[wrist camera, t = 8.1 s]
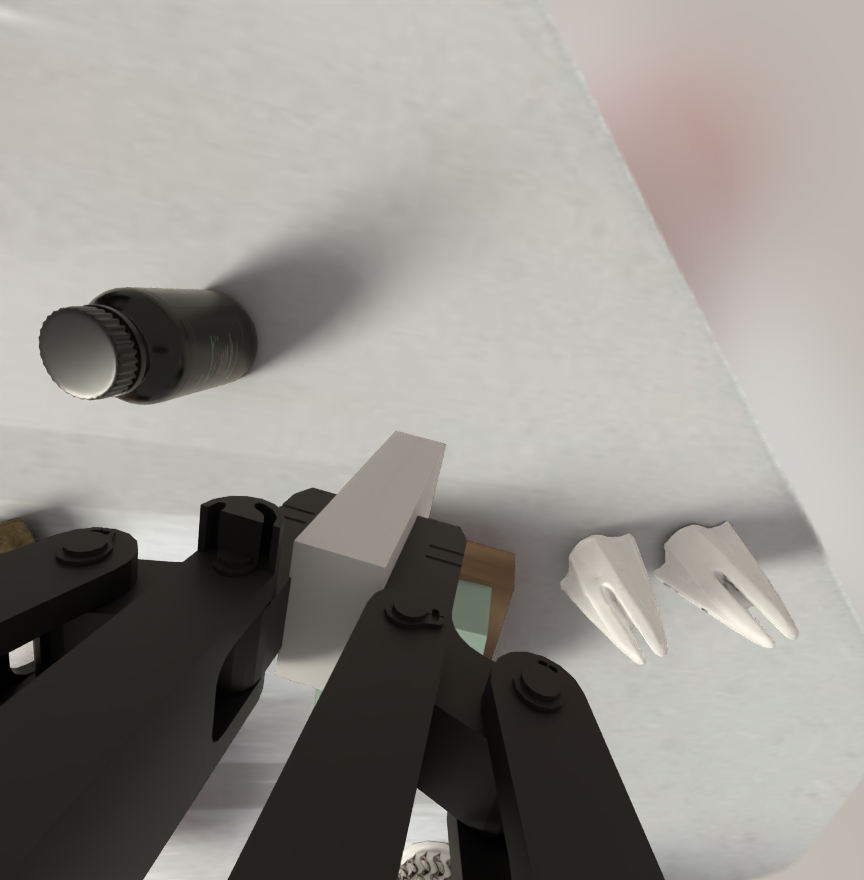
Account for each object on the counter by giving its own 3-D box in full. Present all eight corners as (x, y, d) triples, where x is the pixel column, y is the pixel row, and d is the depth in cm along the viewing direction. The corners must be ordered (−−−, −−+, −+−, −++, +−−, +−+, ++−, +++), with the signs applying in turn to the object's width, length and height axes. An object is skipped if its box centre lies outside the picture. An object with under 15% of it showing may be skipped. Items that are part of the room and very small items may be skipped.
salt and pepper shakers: (558, 578, 36) (573, 689, 26) (554, 528, 35) (568, 624, 25) (731, 573, 34) (825, 694, 24) (732, 519, 33) (831, 621, 22)
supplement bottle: (162, 345, 37) (3, 365, 25) (201, 270, 35) (46, 255, 23) (232, 400, 37) (106, 445, 26) (276, 329, 35) (158, 344, 24)
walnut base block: (367, 509, 38) (346, 539, 33) (514, 551, 37) (514, 588, 32) (344, 630, 42) (322, 672, 37) (477, 671, 41) (471, 720, 36)
